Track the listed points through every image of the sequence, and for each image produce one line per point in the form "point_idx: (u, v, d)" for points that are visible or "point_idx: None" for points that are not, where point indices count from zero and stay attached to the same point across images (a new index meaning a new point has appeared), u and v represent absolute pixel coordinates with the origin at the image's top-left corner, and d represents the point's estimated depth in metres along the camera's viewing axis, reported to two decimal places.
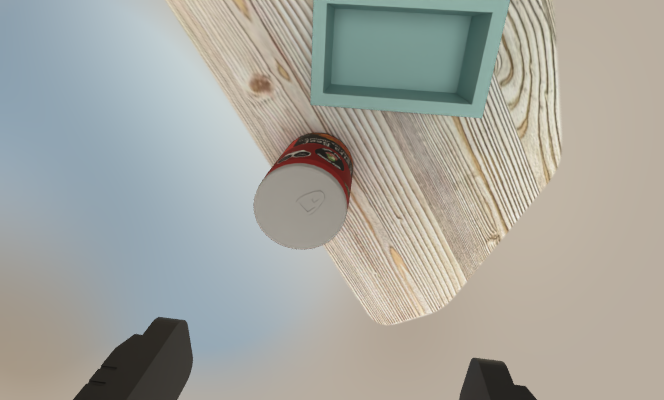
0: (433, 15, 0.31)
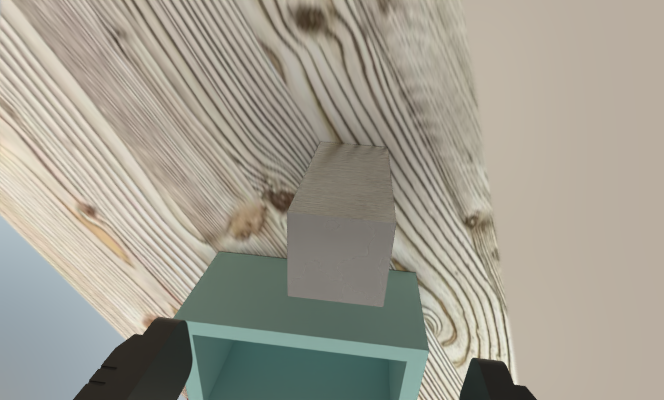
0: None
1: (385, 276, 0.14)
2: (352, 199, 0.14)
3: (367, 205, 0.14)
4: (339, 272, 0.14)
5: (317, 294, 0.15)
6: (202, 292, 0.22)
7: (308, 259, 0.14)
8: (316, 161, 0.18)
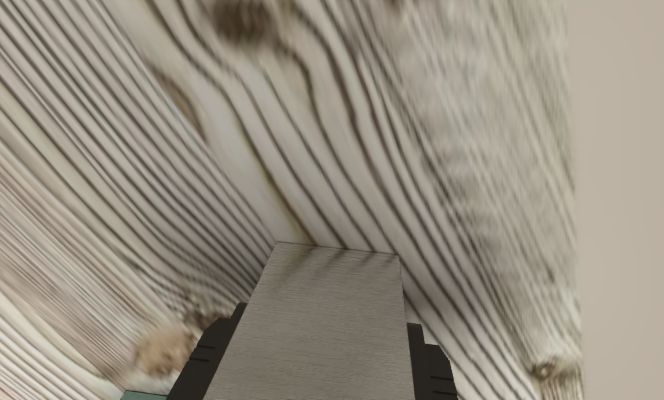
0: None
1: None
2: None
3: None
4: None
5: None
6: None
7: None
8: (252, 317, 0.09)
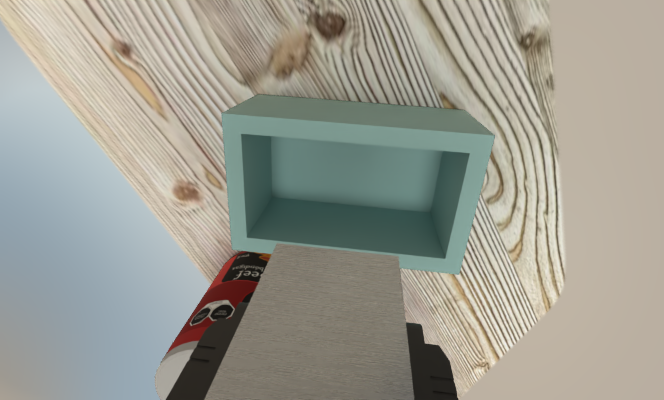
0: None
1: None
2: None
3: None
4: None
5: None
6: (248, 106, 0.21)
7: None
8: (253, 319, 0.09)
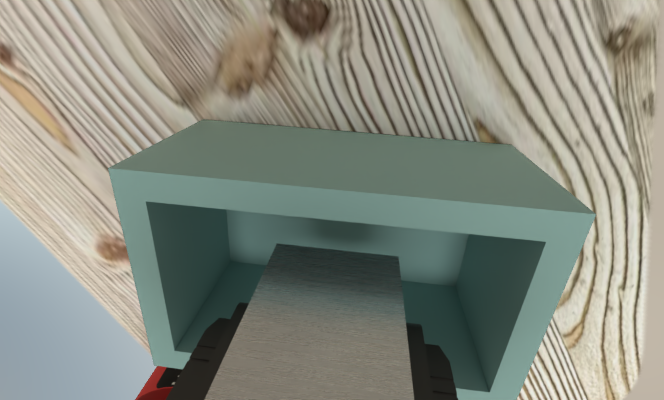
0: None
1: None
2: None
3: None
4: None
5: None
6: (169, 147, 0.13)
7: None
8: (252, 319, 0.09)
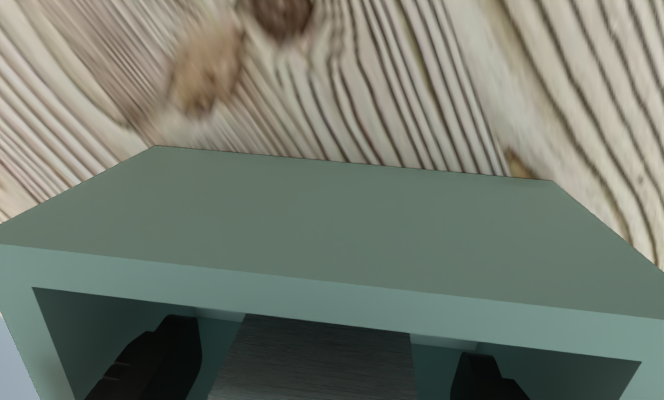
0: None
1: None
2: None
3: None
4: None
5: None
6: (86, 195, 0.09)
7: None
8: None
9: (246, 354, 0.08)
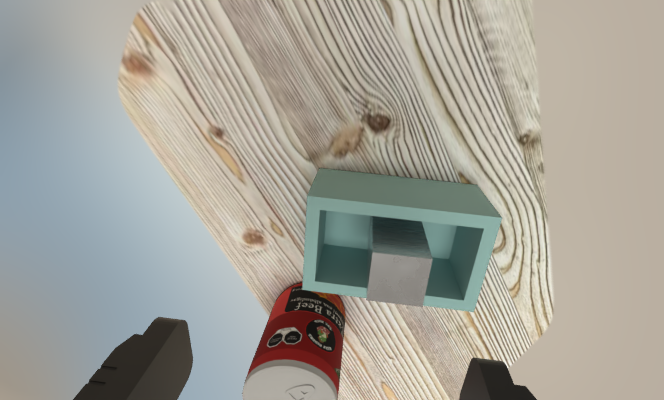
0: None
1: (424, 288, 0.25)
2: (405, 244, 0.25)
3: (414, 248, 0.25)
4: (398, 286, 0.25)
5: (384, 298, 0.25)
6: (320, 185, 0.28)
7: (381, 278, 0.25)
8: (375, 216, 0.29)
9: (377, 231, 0.27)
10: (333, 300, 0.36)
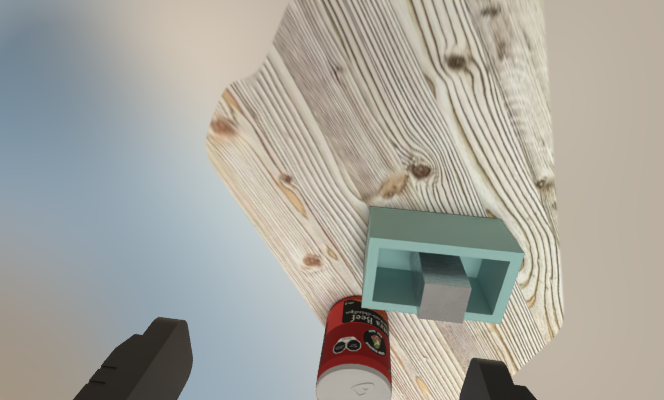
0: None
1: (464, 309, 0.32)
2: (448, 274, 0.32)
3: (456, 278, 0.32)
4: (444, 307, 0.32)
5: (432, 317, 0.32)
6: (376, 225, 0.35)
7: (430, 302, 0.32)
8: None
9: (425, 263, 0.34)
10: (379, 311, 0.43)
